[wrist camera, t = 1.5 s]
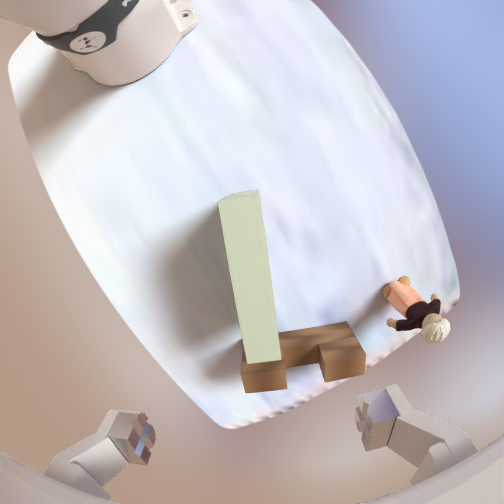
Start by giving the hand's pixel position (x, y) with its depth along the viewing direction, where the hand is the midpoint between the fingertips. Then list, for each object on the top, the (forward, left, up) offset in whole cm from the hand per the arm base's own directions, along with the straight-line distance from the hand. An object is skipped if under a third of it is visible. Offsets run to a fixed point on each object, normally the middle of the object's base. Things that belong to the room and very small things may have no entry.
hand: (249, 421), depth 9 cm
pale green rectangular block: (0, 0, -25) cm, 25 cm away
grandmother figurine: (+8, +18, -25) cm, 32 cm away
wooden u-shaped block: (+13, +4, -25) cm, 28 cm away
